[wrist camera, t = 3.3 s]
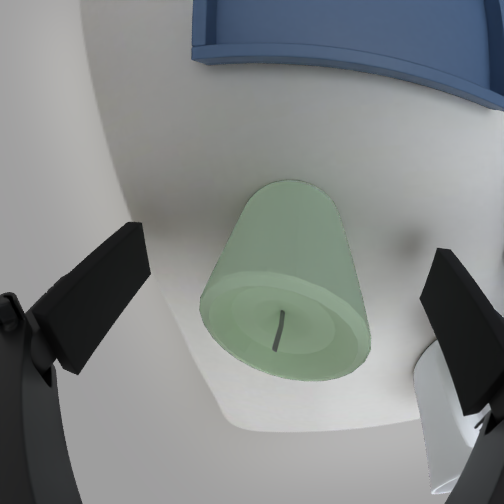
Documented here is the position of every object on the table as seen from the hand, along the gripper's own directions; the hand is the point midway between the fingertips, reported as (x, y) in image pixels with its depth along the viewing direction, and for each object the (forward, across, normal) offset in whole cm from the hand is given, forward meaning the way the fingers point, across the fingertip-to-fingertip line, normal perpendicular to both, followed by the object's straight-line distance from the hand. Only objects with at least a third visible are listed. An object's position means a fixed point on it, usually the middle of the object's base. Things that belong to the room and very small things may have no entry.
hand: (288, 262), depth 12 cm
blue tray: (+3, +3, +15) cm, 16 cm away
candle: (+3, 0, 0) cm, 3 cm away
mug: (+3, +13, -8) cm, 15 cm away
